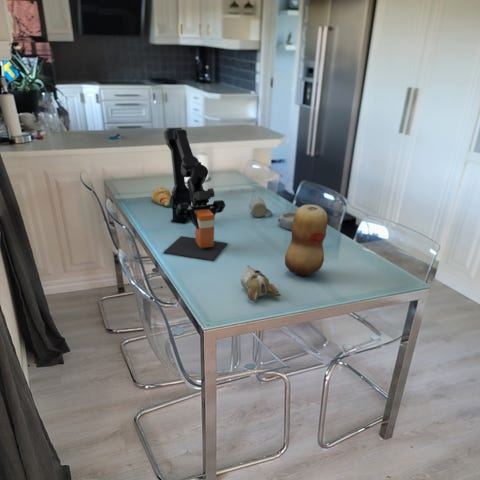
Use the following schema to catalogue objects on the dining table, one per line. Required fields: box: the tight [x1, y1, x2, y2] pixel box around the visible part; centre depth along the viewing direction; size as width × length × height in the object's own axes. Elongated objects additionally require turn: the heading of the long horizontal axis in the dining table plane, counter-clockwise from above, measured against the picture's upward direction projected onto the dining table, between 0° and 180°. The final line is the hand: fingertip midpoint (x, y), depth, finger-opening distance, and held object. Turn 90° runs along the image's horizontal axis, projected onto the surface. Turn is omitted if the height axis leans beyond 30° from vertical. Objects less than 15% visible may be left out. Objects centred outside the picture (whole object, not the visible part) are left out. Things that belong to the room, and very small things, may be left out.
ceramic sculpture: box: [240, 265, 282, 302], centre depth 154 cm, size 11×9×15 cm
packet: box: [194, 209, 215, 248], centre depth 183 cm, size 6×6×13 cm
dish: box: [277, 211, 296, 231], centre depth 213 cm, size 14×14×5 cm
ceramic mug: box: [248, 196, 273, 218], centre depth 223 cm, size 11×8×8 cm
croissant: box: [150, 187, 172, 207], centre depth 235 cm, size 21×10×8 cm, turn 27°
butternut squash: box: [284, 204, 329, 277], centre depth 164 cm, size 14×13×25 cm
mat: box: [163, 235, 228, 262], centre depth 187 cm, size 20×18×1 cm
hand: (205, 228), depth 181 cm, fingers closed on packet, 5 cm apart
